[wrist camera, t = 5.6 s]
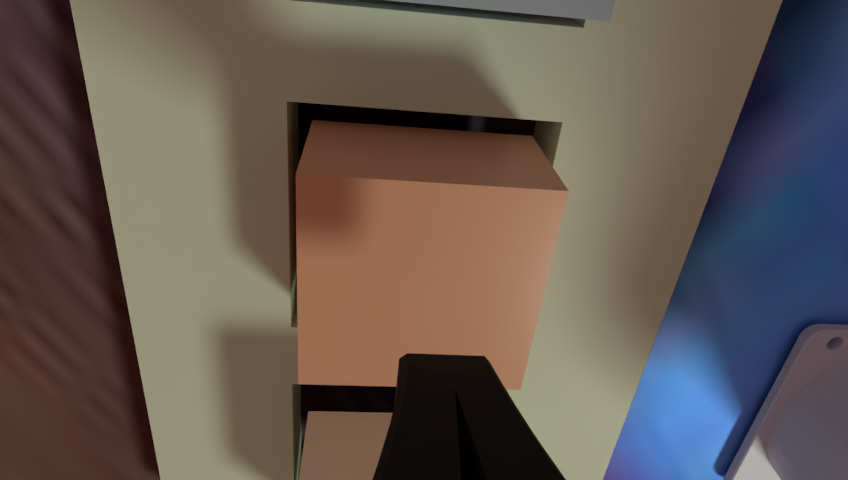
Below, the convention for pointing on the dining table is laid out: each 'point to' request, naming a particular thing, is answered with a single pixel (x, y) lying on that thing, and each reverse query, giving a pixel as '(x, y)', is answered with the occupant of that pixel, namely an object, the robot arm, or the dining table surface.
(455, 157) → the key terracotta
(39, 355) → the dining table surface
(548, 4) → the key slate
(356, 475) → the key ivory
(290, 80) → the panel
